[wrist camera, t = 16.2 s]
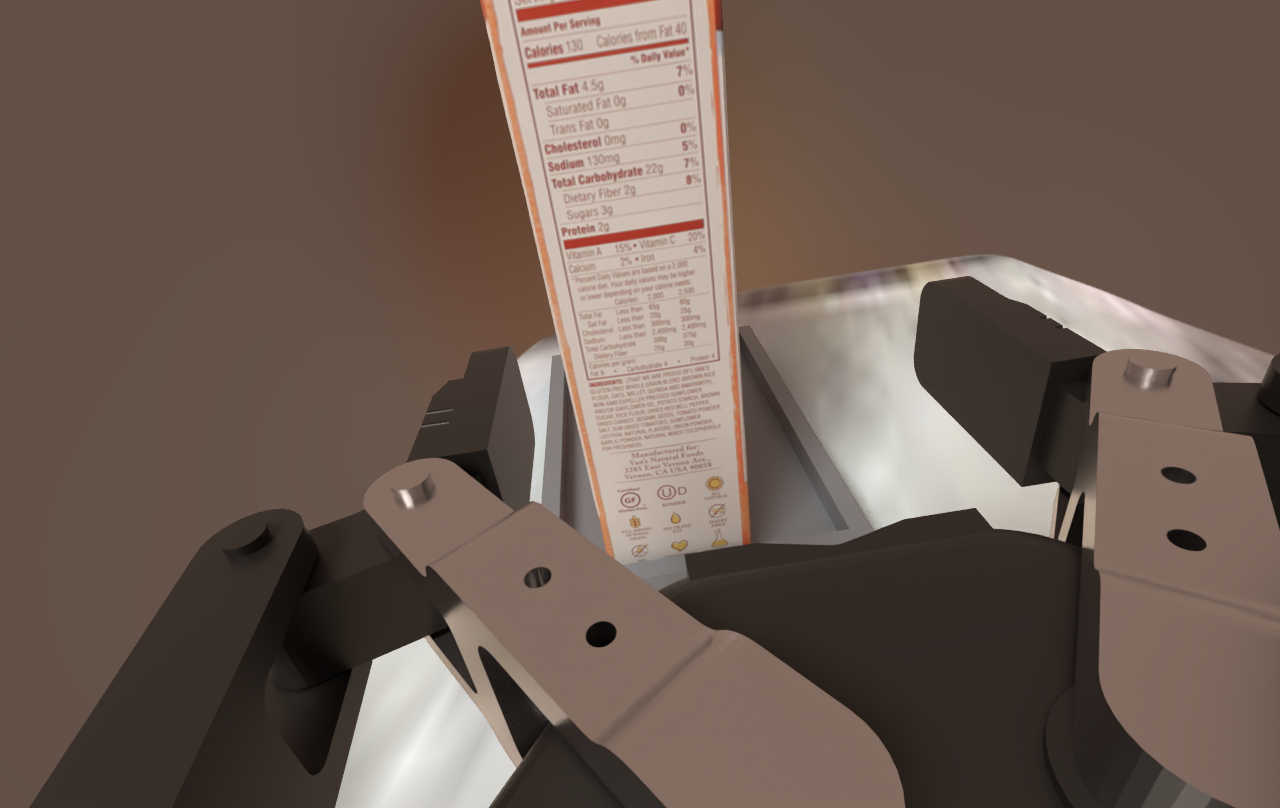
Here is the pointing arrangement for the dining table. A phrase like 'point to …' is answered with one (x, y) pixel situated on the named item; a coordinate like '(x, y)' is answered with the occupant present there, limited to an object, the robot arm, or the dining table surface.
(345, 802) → the dining table surface
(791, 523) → the tray
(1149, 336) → the dining table surface
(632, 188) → the cracker box
